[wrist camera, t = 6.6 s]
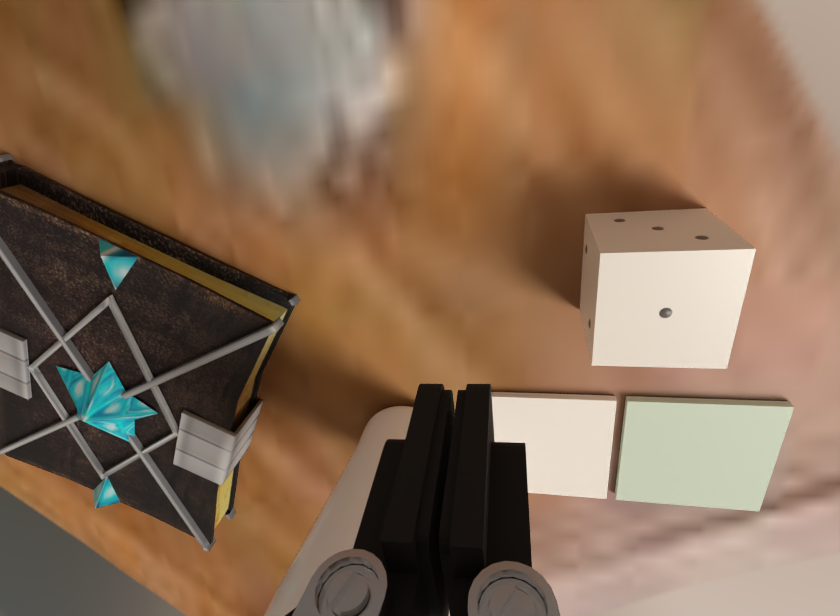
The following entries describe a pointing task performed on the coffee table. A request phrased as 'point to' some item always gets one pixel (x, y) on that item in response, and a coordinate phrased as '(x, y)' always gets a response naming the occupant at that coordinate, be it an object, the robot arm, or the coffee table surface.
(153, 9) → the coffee table surface
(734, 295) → the die
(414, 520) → the robot arm
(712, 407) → the squares
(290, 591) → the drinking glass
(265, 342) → the book
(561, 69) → the coffee table surface
